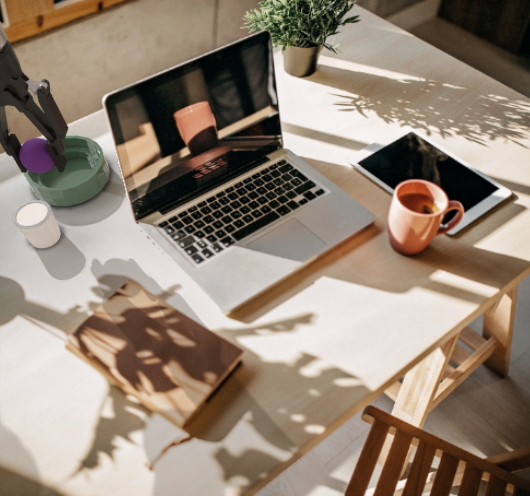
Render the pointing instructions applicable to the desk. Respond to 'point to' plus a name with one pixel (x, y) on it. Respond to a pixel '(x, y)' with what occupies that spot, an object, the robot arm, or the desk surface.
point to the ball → (36, 156)
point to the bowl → (72, 174)
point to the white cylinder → (37, 223)
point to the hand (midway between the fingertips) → (44, 166)
